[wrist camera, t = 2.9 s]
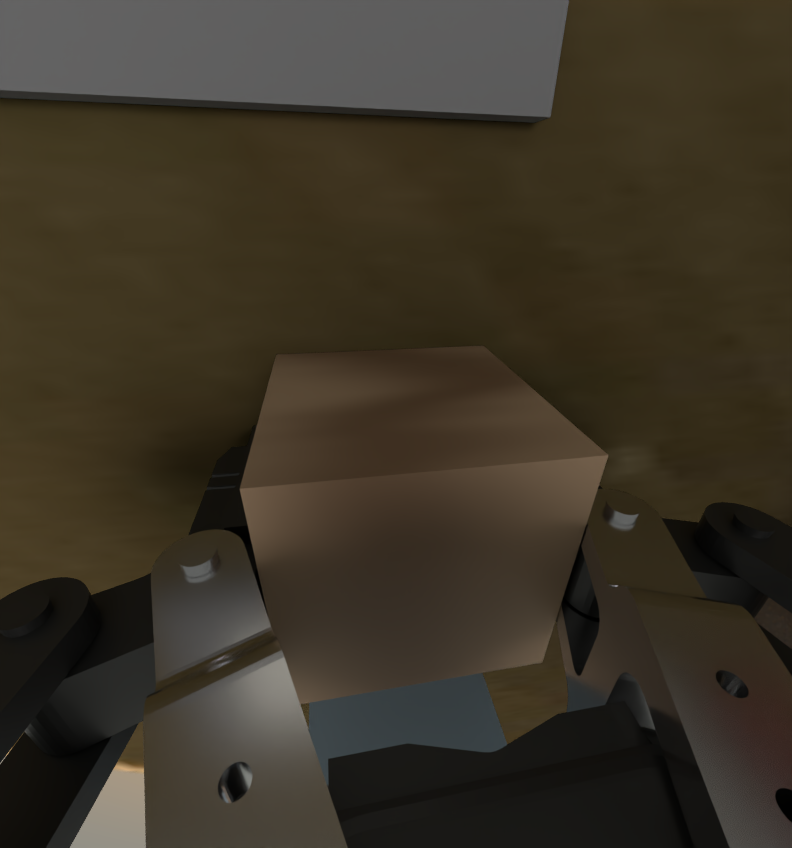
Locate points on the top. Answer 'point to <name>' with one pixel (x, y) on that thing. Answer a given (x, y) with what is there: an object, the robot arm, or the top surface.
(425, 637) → the walnut block
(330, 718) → the blue block
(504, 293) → the top surface
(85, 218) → the top surface
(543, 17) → the mat
